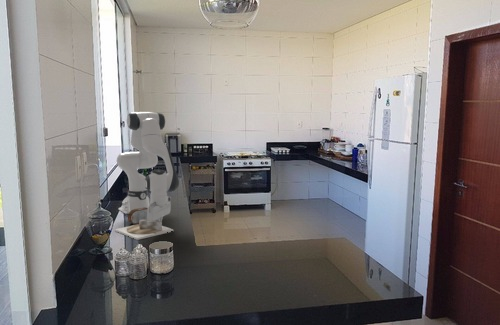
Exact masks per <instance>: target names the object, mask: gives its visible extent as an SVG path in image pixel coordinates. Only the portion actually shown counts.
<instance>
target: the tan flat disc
mask: <svg viewBox="0 0 500 325" xmlns="http://www.w3.org/2000/svg"><path fill="white" fill-rule="evenodd" d="M162 226H163V221H162V222H158V221H156V220H155V221H153V222H150V221H147V220H146V219H144V220H140V221H139V223H138V224H133V225H129V227H128V226H127V227H128V228H127V232H129V233H133V234H149V233H154V232H157V231H160V230H161V229H162Z"/></svg>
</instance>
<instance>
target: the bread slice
mask: <svg viewBox="0 0 500 325" xmlns="http://www.w3.org/2000/svg"><path fill="white" fill-rule="evenodd" d="M147 209H148V208H146V207H144V208H139V209H133V210H131V211H130V212H129V214H127V221H128V222H129V224H133V225H136V224H139V221H140V220H144V219H146V220H147Z"/></svg>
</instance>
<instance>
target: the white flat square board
mask: <svg viewBox="0 0 500 325" xmlns="http://www.w3.org/2000/svg"><path fill="white" fill-rule="evenodd" d="M129 226H130V225H129ZM129 226H123V227H119V228H115V229H114V232H115V233H116V232H117V233H118V232H119V234H120V235H123V234H124V236H126V237H128V236H129V238H131V239H133V238H134V240H136V241H139V240H143V239H146V238H151V237H156V236H159V235H160V236H161V235H163V234H168V233H172V232H171V231H173V232H174V229H173V228H170V227H167V226H164V225H162V229H161V230H160V231H157V232H154V233H149V234H133V233H129V232H127V228H128V227H129ZM167 232H168V233H167Z"/></svg>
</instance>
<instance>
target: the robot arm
mask: <svg viewBox="0 0 500 325" xmlns="http://www.w3.org/2000/svg"><path fill="white" fill-rule="evenodd" d="M126 125H127V127H128V128H129V129H130V130H131V135H130V136H131V137H130V145H131V146H132V148H134V149H136V150H138V151H126V152H122V153H119V154H118V155H117V157H116V165H117V166H118V168H120V169H121V170H122V171H124V173H125V174H126V175H127V178H128V188H129V189H128V190H127V196H126V197H125V198H124V199H123V200H122V202H121V206H120V207H118V211H120V212H122V213H124V214H125V215H128V214H129V212H130V211H131V210H133V209H139V208H144V207H146V208H148V209H147V221H150V222H153V221H158V222H162V223H163V217H164V216H167V215H169V214H170V213H171V210H172V209H171V208H172V207H171V206H172V205H171V204H172V203H171V201H172V197H171V196H169V195H168V192H175V190H177V189H178V188H179V187H180V179H179V177H178V174H177V172H176V171H177V170H176V167H175V164H174V160H173V156H172V153H171V151H170V148H169V146H167V145H166V144H165V143H164V140H163V138H162V137H163V136H162V130H163V129H164V128H165V125H166V118H165V115H164V114H163V113H160V112H153V111H139V112H138V111H133V112H129V113H128V115H127V118H126ZM158 157H159V158H162V159H163V162H164V165H165V167H166V170H163V169H161V168H160V169H157V168H156V169H153V170H151V172H150V174H148V175H147V176H145V175H143V174H142V173H139V171H138V170H140V169H150V168H154V167H156V166H157V164H158V161H159V159H158ZM149 192H150V196H148V195H149V194H148V193H149Z"/></svg>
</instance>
